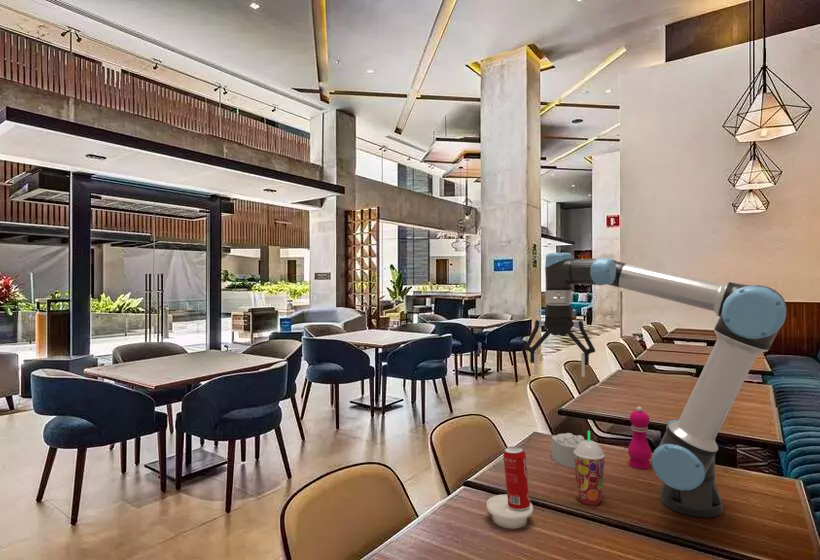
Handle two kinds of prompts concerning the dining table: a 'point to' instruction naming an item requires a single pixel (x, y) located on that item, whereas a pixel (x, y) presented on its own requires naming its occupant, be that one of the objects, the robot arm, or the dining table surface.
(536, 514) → the dining table surface
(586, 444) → the smoothie
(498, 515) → the stand
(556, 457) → the lumpy-topped squat cylinder
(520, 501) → the beverage can
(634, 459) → the pepper mill
